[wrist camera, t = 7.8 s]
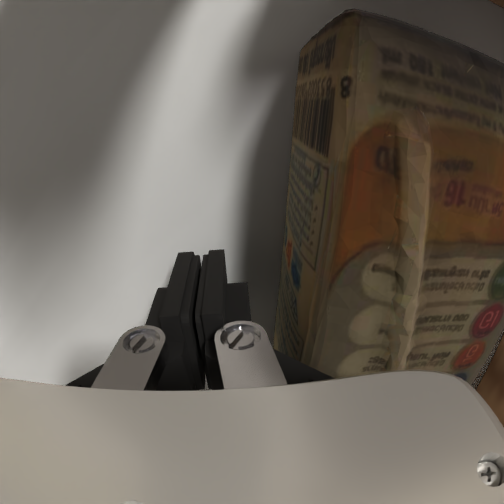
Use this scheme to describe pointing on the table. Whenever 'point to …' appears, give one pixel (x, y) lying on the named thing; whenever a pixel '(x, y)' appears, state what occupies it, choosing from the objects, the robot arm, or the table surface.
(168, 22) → the table surface
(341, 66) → the beverage carton
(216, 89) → the table surface
